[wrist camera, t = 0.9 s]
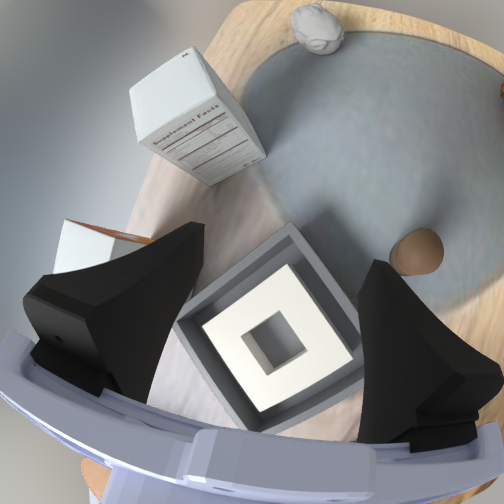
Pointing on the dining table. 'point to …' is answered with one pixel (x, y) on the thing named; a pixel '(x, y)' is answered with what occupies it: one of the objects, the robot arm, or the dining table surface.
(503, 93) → the dragon fruit
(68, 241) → the small box
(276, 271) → the square hole block
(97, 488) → the lidded bowl
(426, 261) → the peg
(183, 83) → the supplement box
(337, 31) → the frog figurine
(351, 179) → the dining table surface
